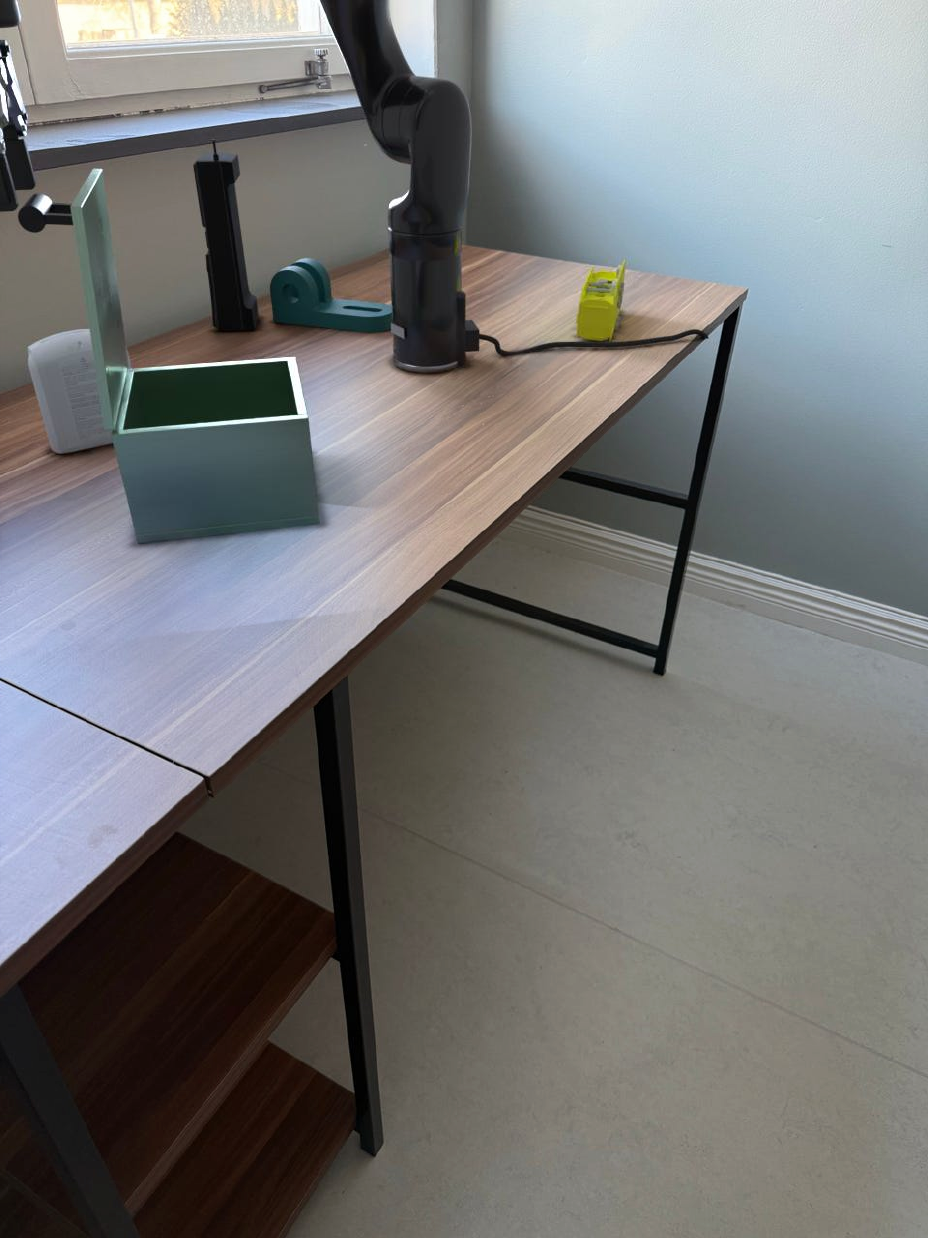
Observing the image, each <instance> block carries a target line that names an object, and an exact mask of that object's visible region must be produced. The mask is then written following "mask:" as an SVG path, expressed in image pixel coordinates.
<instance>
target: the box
mask: <svg viewBox="0 0 928 1238" xmlns="http://www.w3.org/2000/svg"><path fill="white" fill-rule="evenodd" d="M300 376H301V375H300V372H299V368H298V362H297V358H296V356H289V357H276V358H275V357H274V358H263V359H262V358H261V359H250V360H248V359H246V360H236V361H235V360H234V361H221V362H208V363H207V362H206V363H196V364H195V363H193V364H180V365H167V366H166V365H165V366H153V367H140V368H139V367H138V368H132V369H127V372H126V377H125V382H124V387H123V391H122V396H121V401H120V406H119V410H118V415H117V420H116V425H115V429H112V433H111V437H112V441H113V443H112V444H113V448H114V453H115V456H116V461H117V464H118V468H119V472H120V476H121V480H122V485H123V489H124V494H125V496H126V501H127V505H128V509H129V512H130V517H131V521H132V525H133V529H134V533H135V537H136V540H137V544H146V543H156V542H165V541H175V540H185V539H193V538H203V537H212V536H222V535H229V534H231V535H232V534H238V533H239V534H240V533H249V532H258V531H267V530H277V529H286V528H295V527H305V526H313V525H314V526H315V525H320V515H319V514H320V513H319V504H318V495H317V486H316V485H317V484H316V477H315V476H316V475H315V466H314V456H313V448H312V447H313V446H312V437H311V428H310V418H309V414H308V409H307V405H306V399H305V396H304V395H305V394H304V391H303V386H302V382H301V377H300Z"/></svg>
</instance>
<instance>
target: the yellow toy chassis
mask: <svg viewBox="0 0 928 1238" xmlns="http://www.w3.org/2000/svg"><path fill="white" fill-rule="evenodd" d="M625 272H626V259H623V261H622V264H617V267H616V270H615V271H612V270H598V271H596V272H595V271H594V266H591V267H590V269H589V271H588V274H587V276H586V278H585V280H584V283H583V284H582V285H583V286H581V291H580V295H579V300H578V302H579V303H578V312H577V314H576V325H577V327H576V337H575V338H576V339H577V338H579V337H580V338H582V339H584V340H590V341H591V342H607V341H608V340H609V341H612V337H613V335H614V331H619V326H620V325H621V319H622V318H621V316H620V311H621V309H622V303H623V295H624V290H625V274H626V273H625Z"/></svg>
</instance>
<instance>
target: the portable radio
mask: <svg viewBox="0 0 928 1238" xmlns="http://www.w3.org/2000/svg"><path fill="white" fill-rule="evenodd" d="M210 141H211V142H212V148H213V152H203V153H202V154H201V155H200V156H199V157H198V159H196V160H195V162H194V163H193V173H194V180H195V186H196V193H197V199H198V205H199V211H200V212H199V213H200V220H201V226H202V227H203V228H204V237H205V242H206V249H207V252H206V254H205V256H204V257H205V265H206V266H205V267H206V273H207V280H208V287H209V296H210V305H211V317H212V318H211V319H212V326H213V328H216V331H217V332H239V331H241V332H243V331H251V330H256V327H257V325H258V320H259V317H260V316H259V308H258V299H257V296H256V295H254V294H252V293H251V291H250V286H249V280H248V273H247V266H246V259H245V249H244V242H243V237H242V236H243V235H242V228H241V221H240V214H239V206H238V201H237V193H236V192H237V191H236V185H235V183H236V182H237V180H238V179H239V177H240V176H241V170H240V162H239V154H237V153H233V152H232V153H231V152H218V151H217V148H216V147H217V146H216V141H217V139H214V138H213V139H212V138H211V139H210Z"/></svg>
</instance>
